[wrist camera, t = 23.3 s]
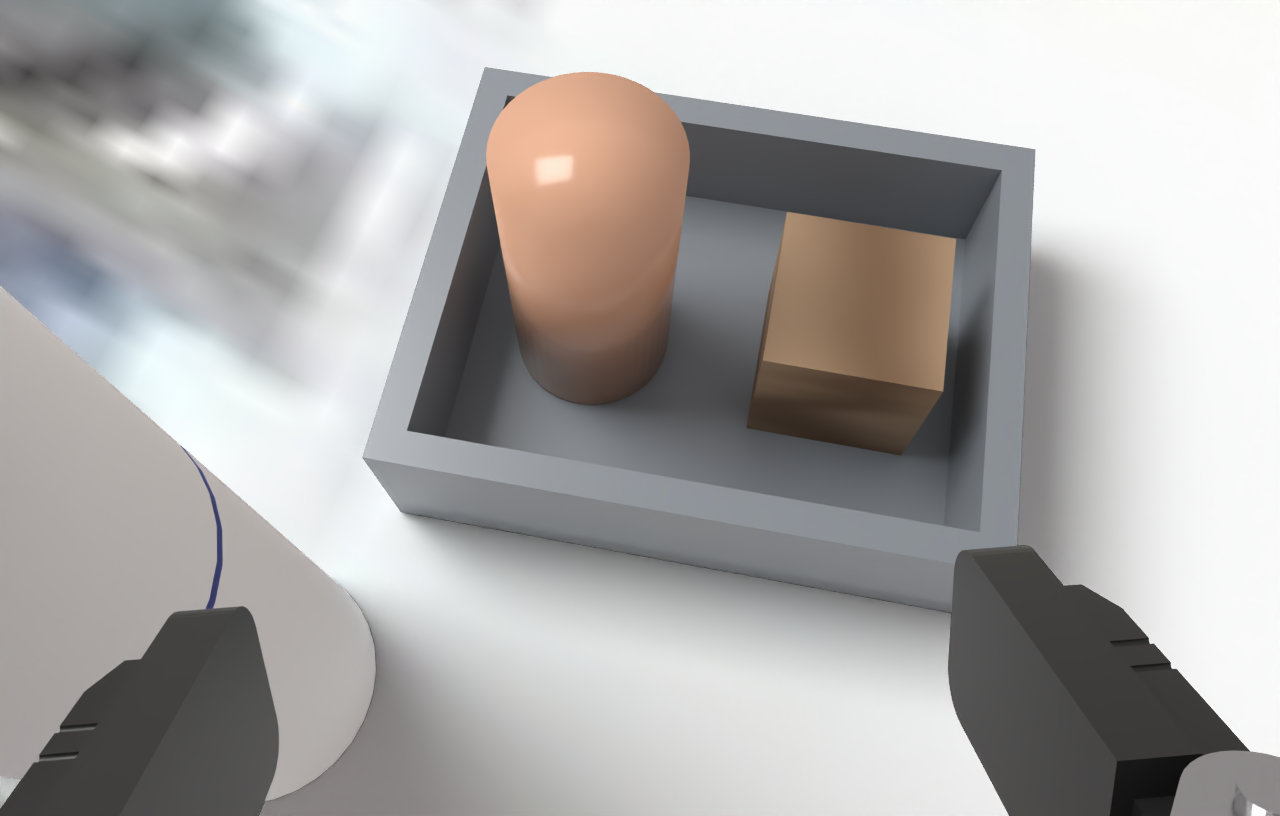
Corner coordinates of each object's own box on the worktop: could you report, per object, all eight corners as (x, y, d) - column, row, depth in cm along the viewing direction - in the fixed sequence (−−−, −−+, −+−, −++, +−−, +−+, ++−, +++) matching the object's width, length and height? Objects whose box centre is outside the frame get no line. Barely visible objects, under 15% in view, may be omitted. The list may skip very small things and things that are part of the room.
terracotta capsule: (500, 385, 34) (460, 215, 25) (541, 257, 36) (518, 54, 26) (648, 420, 33) (664, 261, 24) (682, 288, 35) (708, 94, 26)
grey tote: (400, 511, 33) (361, 457, 29) (503, 160, 39) (484, 67, 34) (962, 614, 32) (1016, 575, 27) (986, 235, 37) (1035, 149, 33)
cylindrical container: (421, 701, 31) (-213, 271, 8) (207, 858, 29) (-1377, 883, 6) (301, 519, 33) (-460, -227, 10) (97, 654, 32) (-1368, 127, 9)
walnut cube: (746, 428, 33) (762, 360, 29) (768, 295, 35) (786, 211, 31) (901, 455, 33) (943, 391, 28) (914, 319, 35) (956, 238, 30)
